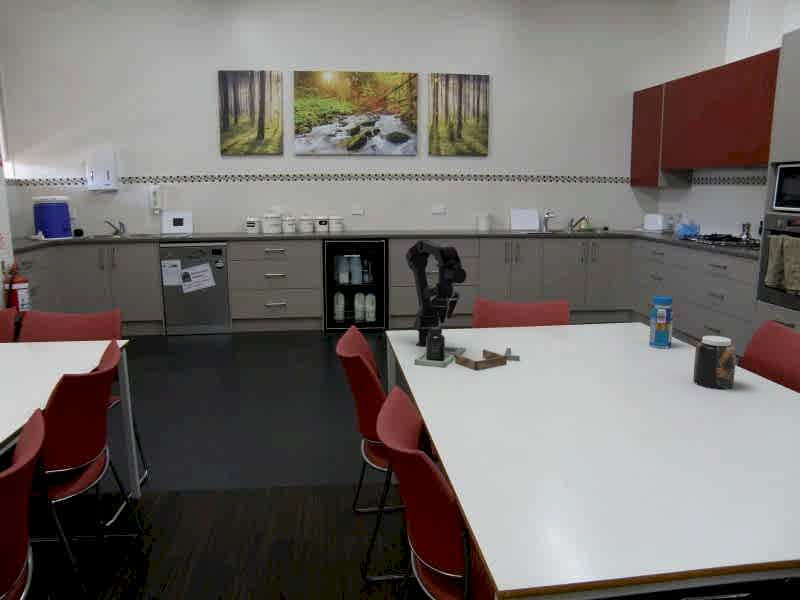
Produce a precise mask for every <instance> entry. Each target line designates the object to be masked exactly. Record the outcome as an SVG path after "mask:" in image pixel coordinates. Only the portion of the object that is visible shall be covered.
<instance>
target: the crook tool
mask: <svg viewBox="0 0 800 600" xmlns="http://www.w3.org/2000/svg"><path fill="white" fill-rule="evenodd" d="M511 353H512V348H511V347H509V348H506V350H505V353H504V354H503V355H504V356H507V361H512V362H520V359H521V358H520V355H512V354H511Z"/></svg>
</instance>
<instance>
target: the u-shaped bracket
mask: <svg viewBox="0 0 800 600" xmlns="http://www.w3.org/2000/svg"><path fill="white" fill-rule="evenodd" d="M504 355H505V354H501V353H497V352H494V351H491V350H488V349H482V358H483V359H482V360H481V359H480V360H474V359H471V358H469V357H466V356H463V355H458V354H457V355H455V358H454V363H455V364H458V365H460V366H463V367H466V368H469V369H471V370H473V369H474V371H476V370H477V371H480V369H482V370H485V369H491V368H496V367H499V366H501V367H502V366H505V365H507V363H508V362H507V361H508V360H507V356H504Z"/></svg>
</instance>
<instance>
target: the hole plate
mask: <svg viewBox="0 0 800 600" xmlns="http://www.w3.org/2000/svg"><path fill="white" fill-rule="evenodd" d="M466 349H467V348H466V347H458V346H457V347H455V346H445V354H452V355H457V354H458V355H461V356H463V354H464V353H465V352H466Z"/></svg>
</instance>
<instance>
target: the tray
mask: <svg viewBox="0 0 800 600" xmlns="http://www.w3.org/2000/svg"><path fill="white" fill-rule="evenodd" d="M454 361H455V355H452V354H445V360H444V361H431V360H427V359H426V351H424V352H423V353H421V354H420V355H419V356H418V357H417V358H415V359H414V365H416V366H424V367H425V366H426V367H436V368H447V367H448V366H449V365H450V364H451V363H452V362H454Z"/></svg>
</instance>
